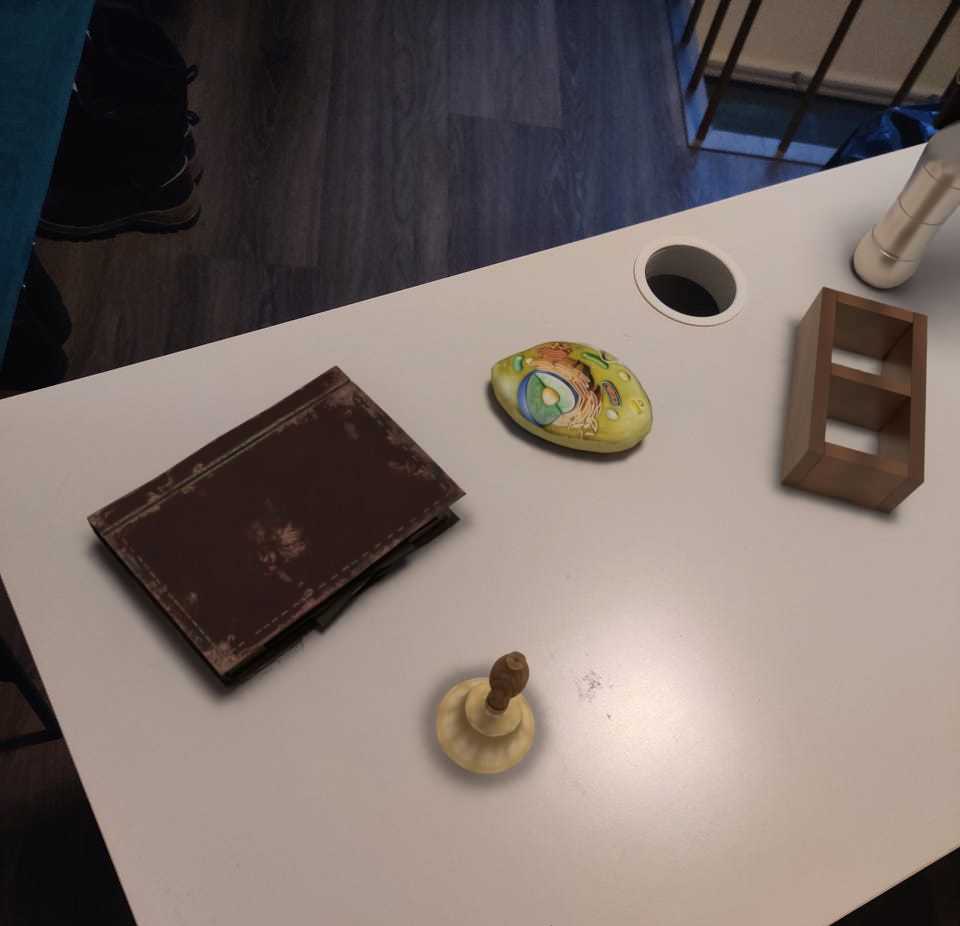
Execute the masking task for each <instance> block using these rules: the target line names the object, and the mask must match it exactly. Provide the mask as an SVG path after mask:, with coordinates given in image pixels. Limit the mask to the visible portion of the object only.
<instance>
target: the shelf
mask: <svg viewBox="0 0 960 926" xmlns="http://www.w3.org/2000/svg"><path fill="white" fill-rule="evenodd" d="M928 318H929V316H928V315H927V314H923V313H920V312H916V311H912V310H909V309H906V308H902V307H898V306H894V305H892V304H891V305H890V304H887V303H884V302H880V301H876V300H872V299H869V298H865V297H862V296H858V295H855V294H852V293H849V292H844V291H841V290H837V289H835V288H830V287H827V286H822V287H821V289H820V291H819V292H818V294H817V295H816V296H815V298H814V300H813V301H812V302H811V304H810V305H809V307H808V309H807V311H806V312H805V313H804V315H803V317H802V318H801V320H800V321H799V322H798V324H797V326H796V332H795V333H796V334H795V343H794V351H793V352H794V353H793V361H792V370H791V379H790V380H791V382H790V389H789V399H788V410H787V417H786V418H787V419H786V428H785V429H786V430H785V438H784V447H783V456H782V457H783V458H782V465H781V466H782V467H781V477H780V484H781V485H783V486H788V487H791V488H795V489H798V490H802V491H805V492H810V493H813V494H817V495H821V496H824V497H828V498H832V499H835V500H838V501H842V502H847V503H850V504H854V505H857V506H861V507H864V508H868V509H871V510H876V511H879V512H882V513H886V514H891V513H892V512H893V511H894V510H895V509H896V508H897V507H898V506H900V504H902V503H903V502H904V501H905V500H906V499H907V498H908V497H910V496H911V495H912V494H913V493H914V492H915V491H916V490H917V489H919V488H920V487H921V486H922V485H923V484H924V483H925V463H926V461H925V460H926V459H925V458H926V457H925V456H926V420H927V419H926V417H927V411H926V410H927V373H928V372H927V370H928V369H927V368H928V367H927V366H928V360H927V359H928V322H929V321H928V320H929V319H928ZM833 348H836V349H839V350H843V351H847V352H851V353H854V354H858V355H861V356H864V357H869V358H872V359H876V360H879V361H881V372H880V373H881V374H880V375H879V374H874V373H871V372H868V371H864V370H861V369H857V368H854V367H850V366H846V365H843V364H839V363H835V362H832V358H833ZM828 419H832V420H834V421H835V420H836V421H839V422H842V423H846V424H850V425H853V426H856V427H859V428H864V429H866V430H867V429H868V430H871V431H874V432H878V436H877V437H878V439H877V453H876V455H875V454H871V453H868V452H865V451H861V450H857V449H853V448H849V447H846V446H843V445H839V444H835V443H832V442H828V441H826V435H827V434H826V432H827V421H828Z"/></svg>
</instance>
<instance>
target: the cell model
mask: <svg viewBox="0 0 960 926" xmlns="http://www.w3.org/2000/svg"><path fill="white" fill-rule="evenodd" d="M490 373H491V374H490V381H491V385H492V388H493V392H494V395H495V397H496V400H497V401H498V403H499V404H500V405H501V407H502V408H503V409H504V410H505V412H506V413H507V414H508V415H509V416H510V418H511V419H512V420H513V421H514V422H515V423H516V424H517V425H518V426H519V427H520V428H522V429H524V430H525V431H526V432H529V433H531V434H533V435H535V436H537V437H539V438H541V439H543V440H545V441H548V442H551V443H553V444H557V445H558V446H562V447H567V448H570V449H575V450H578V451H579V450H580V451H586V452H596V453H604V454H605V453H606V454H607V453H609V454H610V453H618V452H622V451H626V450H628V449H631V448H633V447H634V446H636V445H637V444H638V443H640V442H641V441H642V440H644V439H645V438H646V437H647V436H648V435H649V434H650V433H651V431H652V428H653V421H654V420H653V419H654V418H653V407H652V403H651V400H650V398H649V396H648V394H647V393H646V390H645V389H644V387H643V386H642V384H641V382H640V380H639V379H638V377H637V376H636V375H635V373H634V372H633V371H632V370H631V369H630V368H629V367H628V366H627V365H626V363H624V362H622V361H621V360H620V359H619V358H618V357H616V356H614V355H612V354H611V353H609V352H608V351H606V350H605V349H602V348H600V347H597V346H595V345H592V344H589V343H586V342H585V343H584V342H578V341H577V342H576V341H566V340H552V341H546V342H542V343H539V344H537V345H534V346H532V347H530V348H528V349H525V350H522V351H518V352H515V353H513V354H511V355H509V356H507V357H505V358H501V359H500V360H498V361H497V362H495V363H494V364H493V365H492V367H491V370H490Z"/></svg>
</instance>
